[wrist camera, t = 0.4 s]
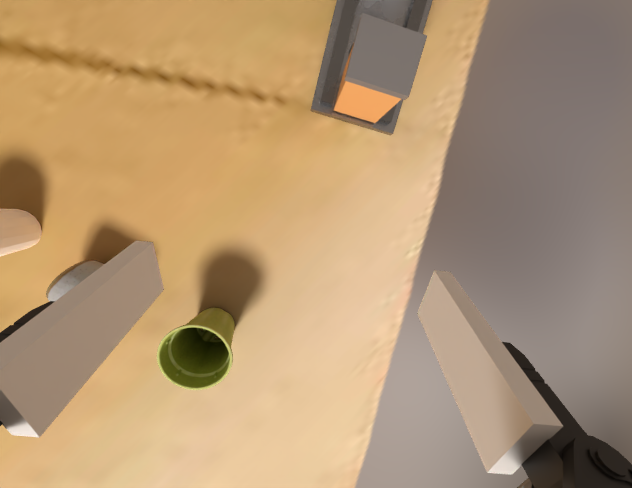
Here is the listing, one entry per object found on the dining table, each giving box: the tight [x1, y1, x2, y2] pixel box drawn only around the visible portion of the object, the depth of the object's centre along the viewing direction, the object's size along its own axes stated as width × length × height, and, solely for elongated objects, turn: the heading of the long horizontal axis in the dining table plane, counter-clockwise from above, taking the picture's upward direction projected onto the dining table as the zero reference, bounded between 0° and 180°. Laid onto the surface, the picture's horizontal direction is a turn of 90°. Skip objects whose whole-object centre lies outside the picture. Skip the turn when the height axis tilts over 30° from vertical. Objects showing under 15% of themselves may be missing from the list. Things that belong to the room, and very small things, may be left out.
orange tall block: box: [334, 13, 427, 123], centre depth 30 cm, size 5×6×11 cm
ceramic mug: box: [46, 260, 104, 301], centre depth 36 cm, size 11×8×8 cm
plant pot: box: [157, 308, 235, 390], centre depth 38 cm, size 9×9×9 cm
